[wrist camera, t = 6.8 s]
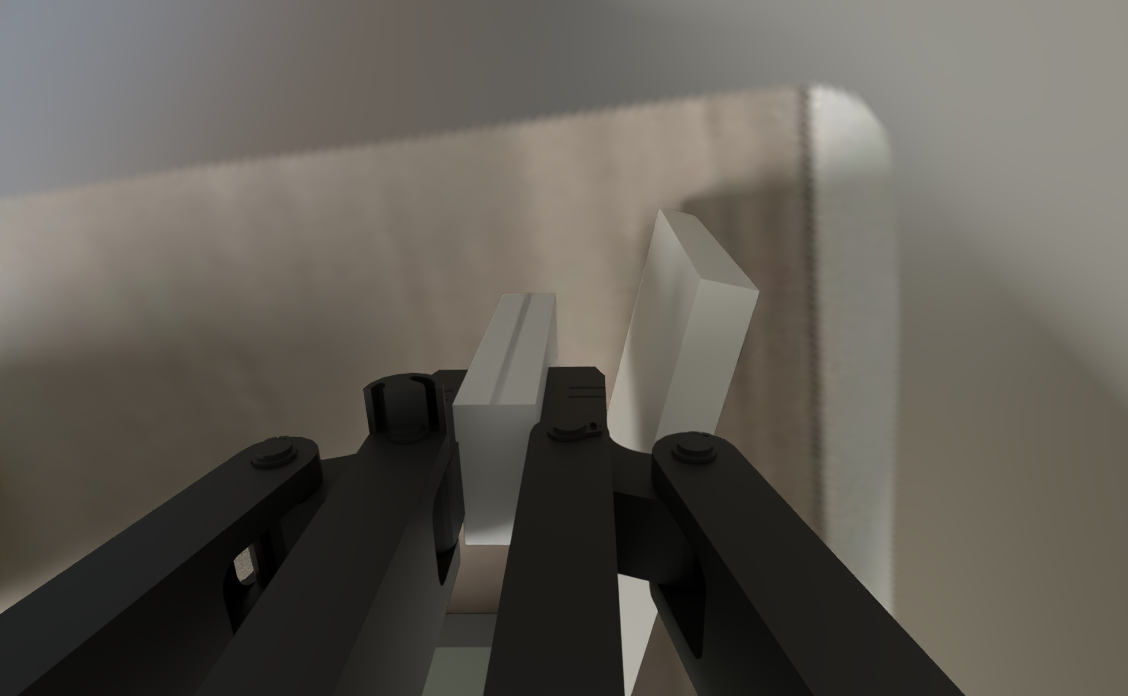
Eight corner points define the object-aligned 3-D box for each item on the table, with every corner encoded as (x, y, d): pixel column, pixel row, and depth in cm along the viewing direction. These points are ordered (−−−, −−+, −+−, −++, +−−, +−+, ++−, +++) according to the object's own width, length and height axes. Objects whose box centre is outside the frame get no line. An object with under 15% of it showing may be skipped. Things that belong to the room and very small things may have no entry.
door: (552, 603, 24) (527, 868, 16) (651, 204, 19) (692, 281, 11) (612, 615, 24) (619, 886, 16) (727, 220, 19) (826, 311, 11)
